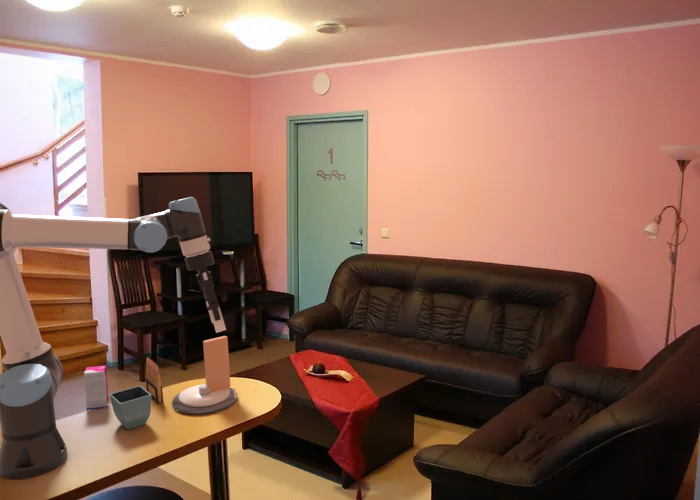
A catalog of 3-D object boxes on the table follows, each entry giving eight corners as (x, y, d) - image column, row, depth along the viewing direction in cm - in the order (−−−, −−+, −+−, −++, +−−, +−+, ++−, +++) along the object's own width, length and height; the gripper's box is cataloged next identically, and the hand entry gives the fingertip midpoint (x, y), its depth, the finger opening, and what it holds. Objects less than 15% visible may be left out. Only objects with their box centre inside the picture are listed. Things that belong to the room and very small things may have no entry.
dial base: (158, 407, 178) (157, 394, 177) (203, 384, 194) (203, 373, 193) (206, 420, 168) (205, 406, 167) (249, 395, 184) (249, 383, 184)
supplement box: (107, 408, 178) (103, 371, 176) (86, 410, 176) (82, 373, 174) (109, 400, 183) (106, 364, 181) (89, 403, 182) (85, 367, 180)
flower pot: (122, 435, 160) (119, 403, 159) (111, 424, 167) (108, 393, 166) (154, 425, 166) (152, 394, 164) (142, 414, 173) (140, 385, 171)
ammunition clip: (163, 402, 181) (160, 364, 179) (157, 404, 180) (154, 366, 178) (152, 391, 189) (149, 355, 187) (146, 393, 188) (143, 356, 186)
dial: (192, 411, 170) (188, 354, 167) (170, 396, 182) (166, 342, 179) (241, 396, 180) (238, 341, 177) (217, 382, 192) (214, 331, 189)
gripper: (214, 253, 153) (237, 331, 156) (207, 246, 177) (227, 314, 180) (185, 261, 151) (208, 340, 154) (182, 253, 175) (202, 322, 178)
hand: (218, 326), depth 167 cm, fingers open, 13 cm apart
